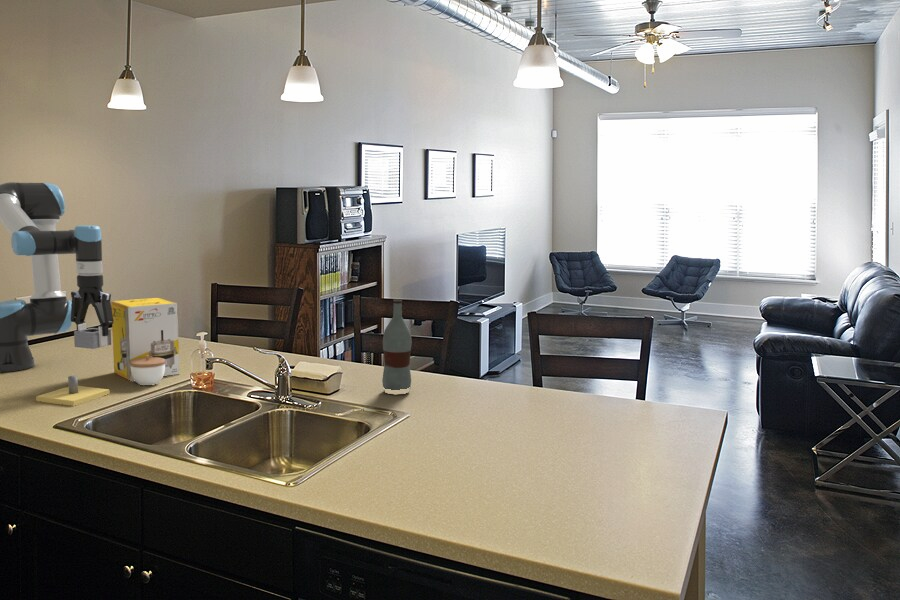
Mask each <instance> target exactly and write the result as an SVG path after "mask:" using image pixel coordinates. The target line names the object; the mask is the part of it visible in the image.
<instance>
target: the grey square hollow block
mask: <svg viewBox="0 0 900 600" xmlns="http://www.w3.org/2000/svg"><path fill="white" fill-rule="evenodd" d="M108 332H109V334H108V336H107V342H108V345H107V346H106V347H108V346H111V345H112V330H111V329H110V328H108ZM73 338H74V339H73V340H74V347H75V348H80V349H81V348H83V349H92V350H97V349H99V348H101V347H99V327H88V328H86V329H84V330H79V331H77V330H75V331H73ZM104 347H105V346H103V347H102V348H104Z"/></svg>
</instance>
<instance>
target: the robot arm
mask: <svg viewBox="0 0 900 600" xmlns="http://www.w3.org/2000/svg"><path fill="white" fill-rule="evenodd" d="M64 198H65V197H64V196H63V192H62V191H61V189H60V187H59V186H57V185H56V184H54V183H46V182H13V181H12V182H11V181H10V182H4V183H2V184H0V223H1V224H2V226H4V228H5V229H6V230H7V231H8V232H9V234H10V235H11V237H10V241H11V242H10V243H11V249H12V251H13V253H14V255H17V256H27V257H30V259H31V270H32V271H31V272H32V281H33V282H32V283H33V294H32V295H31V296H30V297H29V302H26V301H25V299H10V300H3V301H0V373H8V372H18V370H19V371H23V369H24V370H27V368H28V369H31V368H34V366H35V358H34V357H33V354H32V351H31V349H30V347H29V343H28V337H30V336H40V335H41V336H42V335H50V334H52V335H53V334H58V333H65V332H67V331H69V330H70V329H71V327H72V326H73V325H72V324H73V323H75V325H76V331H79V330H84V329H87V323H86V321H85V319H86V316H87V313H88V310H89V306H90V305H92V307H93V309H94V311H95V313H96V316H97V320H98V322H99V324H100V325H98V328H99V347H100V348H104V347H108V346H109V345H108V342H107V336H108V334H109V332H108V329H109V326H110V325H112V324H113V323H114V320H113V314H112V308H111V297H112V294H111V293H109V292H107V293H106V292H104V291H103V287H104V276H103V273H104V268H103V248H102V246H103V245H102V244H103V243H102V241H103V240H102V239H103V236H102V230H101V227H100V226H98V225H93V224H92V225H90V224H89V225H88V224H87V225H76V226H75V227H74V229H69V230H57V229H56V227H57V226H56V225H57V224H58V223H59V222H60V221H61V219H60V217H62V216H64V215H65V209H66V204H65V199H64ZM69 254H70V255H72V254H74V255H75V262H76V263H75V264H76V274H77V276H76V286H77V287H78V290H74V291H71V292H70V296H71V297H70V298H71V300H70V299H67V295H66V294H65V293H64V292H62V291H63V290H62V287H61V286H62V285H61V275H60V273H61V272H60V264H59V255H69ZM107 345H108V346H107ZM103 346H104V347H103ZM30 367H31V368H30Z"/></svg>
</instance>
